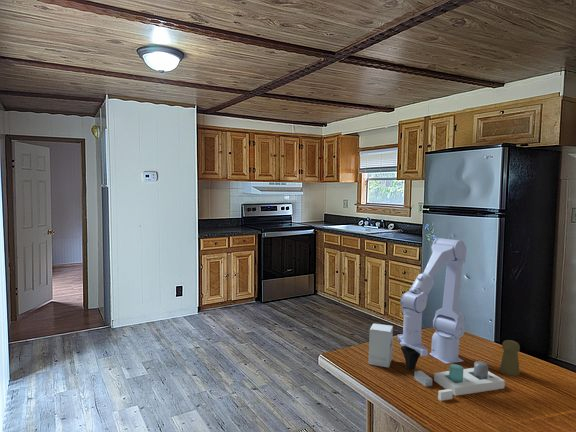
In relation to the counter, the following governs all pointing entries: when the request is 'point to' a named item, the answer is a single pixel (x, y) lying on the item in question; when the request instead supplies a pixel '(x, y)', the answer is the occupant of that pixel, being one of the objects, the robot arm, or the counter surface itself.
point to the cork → (510, 358)
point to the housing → (469, 382)
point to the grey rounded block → (480, 370)
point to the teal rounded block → (456, 373)
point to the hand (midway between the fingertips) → (410, 369)
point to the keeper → (445, 394)
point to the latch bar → (423, 378)
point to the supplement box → (380, 345)
